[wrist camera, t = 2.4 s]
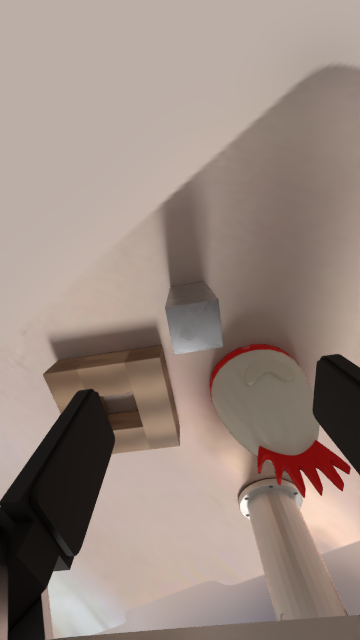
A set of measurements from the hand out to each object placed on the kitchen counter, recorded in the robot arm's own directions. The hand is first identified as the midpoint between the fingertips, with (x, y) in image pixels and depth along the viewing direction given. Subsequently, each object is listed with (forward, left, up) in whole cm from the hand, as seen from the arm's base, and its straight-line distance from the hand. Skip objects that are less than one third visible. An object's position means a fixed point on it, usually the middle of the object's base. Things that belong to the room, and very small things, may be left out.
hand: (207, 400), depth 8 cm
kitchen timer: (-15, -8, -19) cm, 26 cm away
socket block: (-14, +13, -19) cm, 27 cm away
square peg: (0, 0, -19) cm, 19 cm away
